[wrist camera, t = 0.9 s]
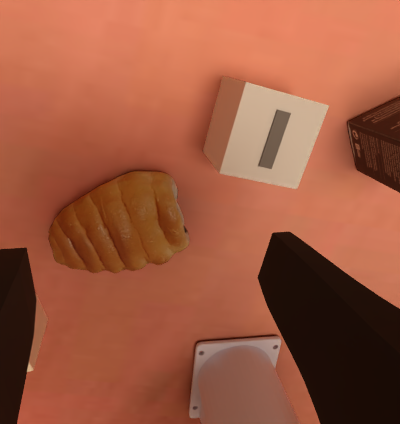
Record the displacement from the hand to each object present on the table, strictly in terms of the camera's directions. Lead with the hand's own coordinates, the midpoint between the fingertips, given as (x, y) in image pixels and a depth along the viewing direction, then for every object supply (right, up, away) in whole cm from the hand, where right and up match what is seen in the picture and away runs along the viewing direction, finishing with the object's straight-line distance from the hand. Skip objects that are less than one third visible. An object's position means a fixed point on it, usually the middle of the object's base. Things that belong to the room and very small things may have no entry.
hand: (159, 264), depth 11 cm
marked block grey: (+4, +8, +13) cm, 16 cm away
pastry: (-4, +1, +15) cm, 16 cm away
